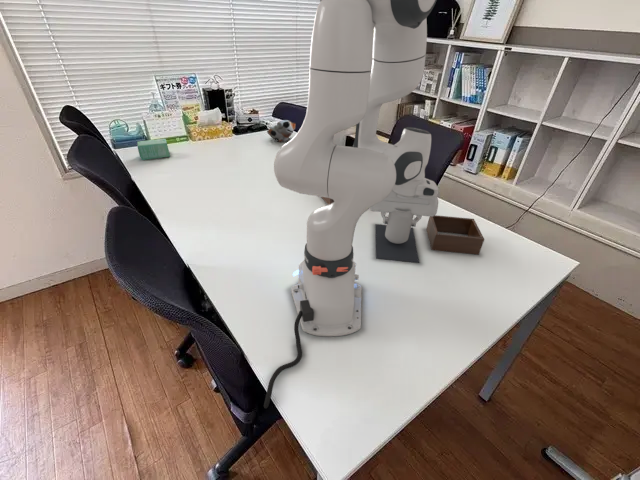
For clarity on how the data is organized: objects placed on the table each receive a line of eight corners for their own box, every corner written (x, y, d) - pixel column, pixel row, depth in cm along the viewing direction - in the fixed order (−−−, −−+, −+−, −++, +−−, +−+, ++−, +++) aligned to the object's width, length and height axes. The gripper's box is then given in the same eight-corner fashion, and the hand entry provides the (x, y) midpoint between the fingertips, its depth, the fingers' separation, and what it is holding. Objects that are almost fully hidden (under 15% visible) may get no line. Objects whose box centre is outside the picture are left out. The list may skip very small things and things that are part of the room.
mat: (419, 263, 99) (419, 262, 99) (376, 258, 100) (376, 257, 100) (412, 228, 116) (412, 227, 115) (375, 225, 117) (375, 224, 116)
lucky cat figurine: (281, 134, 204) (291, 114, 196) (291, 146, 200) (302, 126, 192) (262, 131, 193) (273, 110, 185) (273, 144, 188) (284, 123, 181)
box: (140, 155, 165) (136, 140, 161) (169, 152, 171) (166, 138, 166) (140, 160, 160) (136, 145, 156) (170, 157, 165) (167, 142, 161)
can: (383, 242, 105) (388, 209, 98) (386, 230, 111) (391, 198, 104) (406, 247, 103) (414, 213, 96) (408, 234, 109) (415, 202, 102)
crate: (478, 254, 104) (484, 239, 100) (431, 250, 105) (435, 234, 102) (468, 233, 114) (473, 218, 111) (426, 229, 115) (429, 214, 112)
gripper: (371, 185, 95) (366, 226, 102) (444, 191, 93) (432, 232, 100) (371, 176, 100) (366, 216, 107) (440, 182, 98) (429, 222, 106)
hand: (399, 224), depth 104 cm, fingers closed on can, 7 cm apart
